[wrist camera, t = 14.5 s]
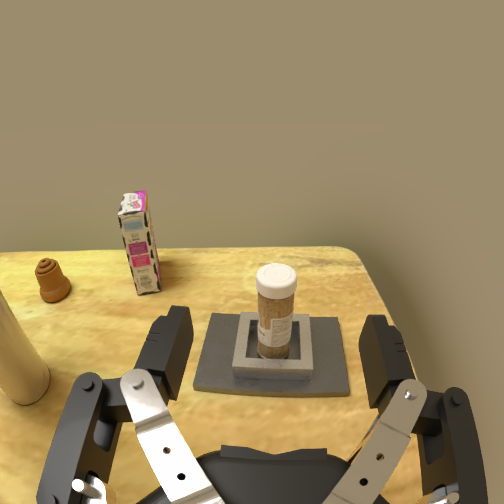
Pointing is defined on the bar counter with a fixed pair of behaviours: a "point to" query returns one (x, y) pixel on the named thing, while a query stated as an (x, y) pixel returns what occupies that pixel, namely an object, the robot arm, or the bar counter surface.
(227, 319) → the collar socket
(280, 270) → the sprinkles bottle
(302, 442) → the bar counter surface
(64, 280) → the ornamental finial
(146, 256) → the candy bar box
